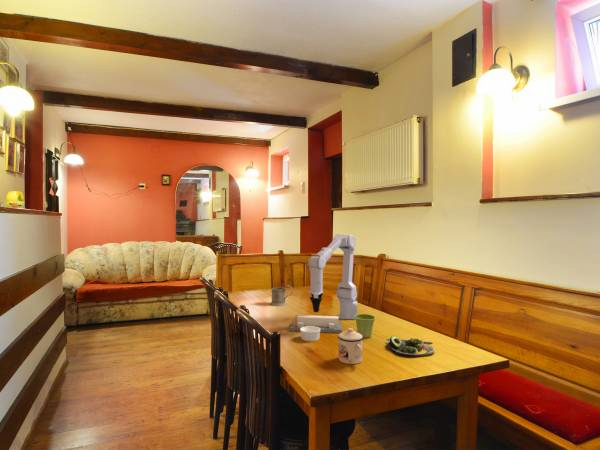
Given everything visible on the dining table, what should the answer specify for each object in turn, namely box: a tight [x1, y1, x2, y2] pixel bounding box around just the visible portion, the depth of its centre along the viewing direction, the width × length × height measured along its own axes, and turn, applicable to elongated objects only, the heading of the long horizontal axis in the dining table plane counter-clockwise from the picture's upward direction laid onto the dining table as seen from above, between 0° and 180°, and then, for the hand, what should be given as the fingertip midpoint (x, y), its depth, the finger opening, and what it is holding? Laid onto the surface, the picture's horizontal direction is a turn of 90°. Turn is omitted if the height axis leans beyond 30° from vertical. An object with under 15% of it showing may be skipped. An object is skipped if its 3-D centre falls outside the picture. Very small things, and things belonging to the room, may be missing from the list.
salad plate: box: [385, 335, 436, 358], centre depth 148 cm, size 19×18×5 cm
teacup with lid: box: [337, 327, 364, 365], centre depth 135 cm, size 12×9×12 cm
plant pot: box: [354, 313, 377, 339], centre depth 164 cm, size 9×9×9 cm
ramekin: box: [300, 326, 321, 342], centre depth 160 cm, size 9×9×4 cm
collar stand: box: [289, 320, 343, 334], centre depth 175 cm, size 24×12×4 cm, turn 85°
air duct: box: [293, 314, 340, 327], centre depth 175 cm, size 21×4×4 cm, turn 85°
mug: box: [269, 284, 294, 307], centre depth 223 cm, size 14×10×12 cm
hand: (316, 310), depth 175 cm, fingers open, 7 cm apart
